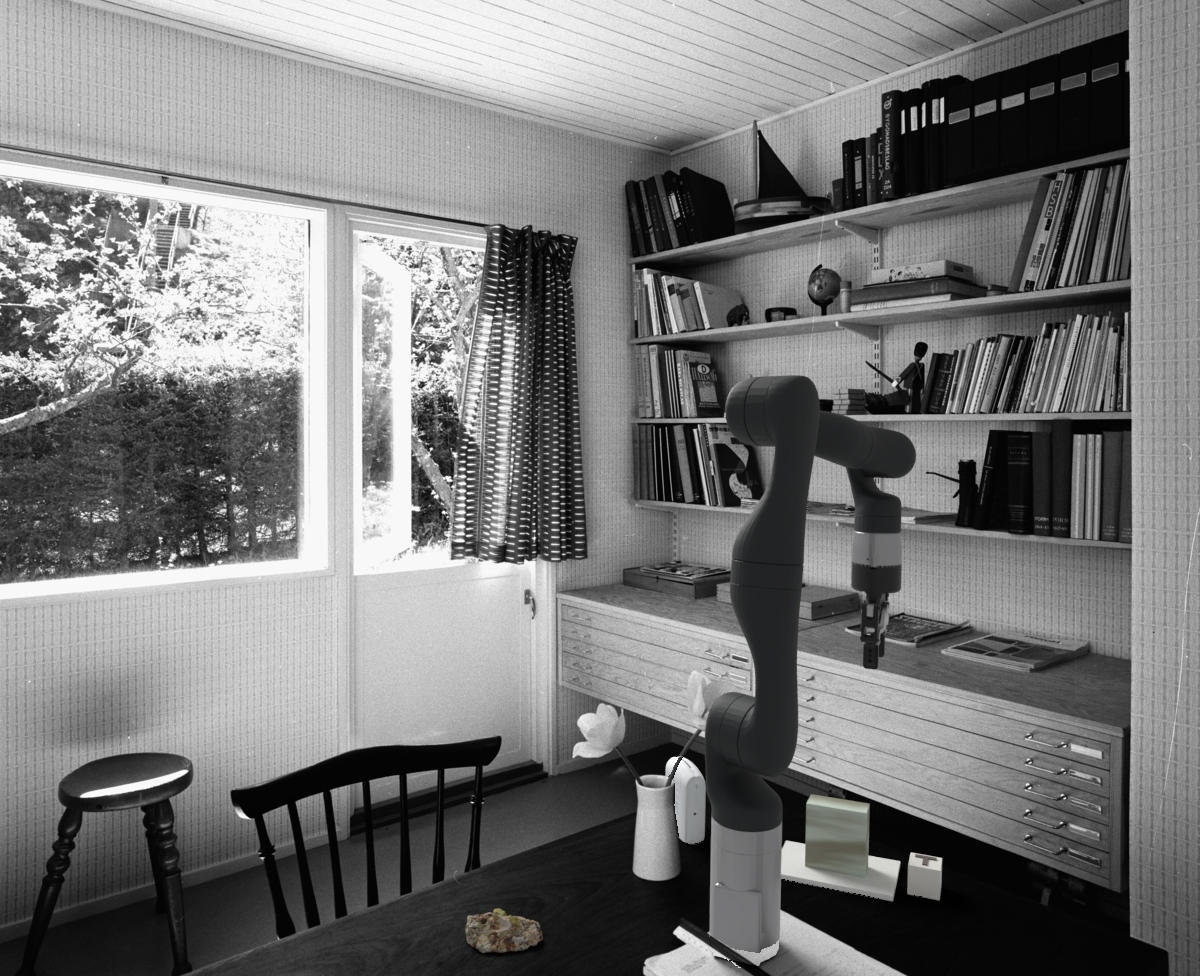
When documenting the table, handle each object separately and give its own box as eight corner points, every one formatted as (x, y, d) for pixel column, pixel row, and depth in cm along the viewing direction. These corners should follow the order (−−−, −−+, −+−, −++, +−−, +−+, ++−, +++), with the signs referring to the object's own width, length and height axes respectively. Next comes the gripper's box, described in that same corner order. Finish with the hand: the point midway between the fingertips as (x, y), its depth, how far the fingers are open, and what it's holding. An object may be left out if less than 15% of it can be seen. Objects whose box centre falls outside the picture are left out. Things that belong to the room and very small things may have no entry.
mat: (892, 901, 132) (893, 896, 132) (770, 877, 139) (770, 872, 139) (900, 866, 143) (900, 861, 143) (786, 845, 150) (786, 840, 150)
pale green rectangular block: (864, 878, 137) (866, 813, 137) (804, 866, 141) (806, 803, 140) (868, 866, 141) (869, 803, 140) (809, 855, 144) (811, 794, 144)
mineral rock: (454, 937, 118) (472, 892, 125) (456, 963, 119) (474, 917, 126) (535, 948, 116) (548, 901, 123) (535, 975, 117) (549, 927, 125)
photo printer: (708, 843, 151) (709, 770, 150) (684, 846, 149) (685, 772, 149) (684, 818, 160) (685, 749, 160) (661, 821, 159) (662, 751, 158)
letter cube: (939, 900, 132) (940, 869, 132) (907, 894, 134) (908, 863, 134) (941, 887, 137) (942, 856, 136) (909, 881, 138) (910, 851, 138)
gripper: (858, 553, 150) (855, 650, 151) (845, 564, 137) (842, 670, 138) (905, 556, 147) (903, 655, 148) (897, 567, 134) (894, 675, 135)
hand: (874, 662), depth 143 cm, fingers open, 8 cm apart
